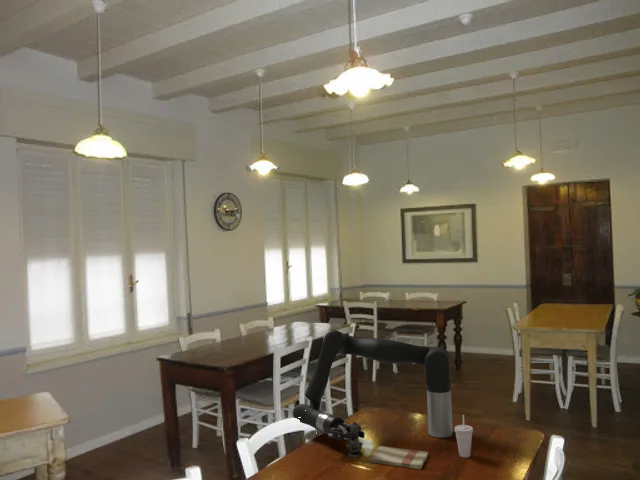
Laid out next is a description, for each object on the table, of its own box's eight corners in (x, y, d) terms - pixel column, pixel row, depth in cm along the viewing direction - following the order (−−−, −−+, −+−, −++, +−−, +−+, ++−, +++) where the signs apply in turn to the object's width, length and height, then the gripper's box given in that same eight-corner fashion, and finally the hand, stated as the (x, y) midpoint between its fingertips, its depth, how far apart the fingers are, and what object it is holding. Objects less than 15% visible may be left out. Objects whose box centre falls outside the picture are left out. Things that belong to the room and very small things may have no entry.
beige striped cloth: (379, 449, 198) (379, 445, 198) (428, 455, 191) (428, 451, 191) (369, 462, 187) (368, 458, 187) (420, 469, 180) (420, 465, 180)
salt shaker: (362, 457, 191) (360, 423, 191) (345, 457, 193) (344, 423, 192) (364, 451, 197) (362, 418, 197) (348, 450, 198) (346, 417, 198)
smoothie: (474, 452, 192) (473, 413, 192) (473, 459, 186) (472, 419, 186) (456, 450, 194) (454, 412, 194) (454, 458, 188) (453, 417, 188)
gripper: (314, 419, 202) (343, 431, 188) (344, 410, 211) (373, 421, 197) (315, 439, 202) (344, 452, 188) (344, 429, 211) (374, 442, 197)
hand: (359, 436), depth 193 cm, fingers closed on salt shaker, 3 cm apart
